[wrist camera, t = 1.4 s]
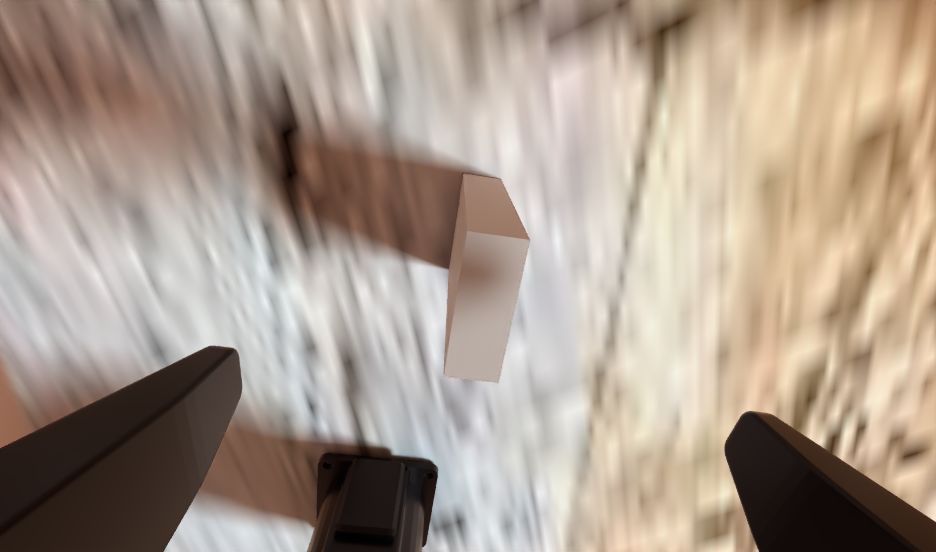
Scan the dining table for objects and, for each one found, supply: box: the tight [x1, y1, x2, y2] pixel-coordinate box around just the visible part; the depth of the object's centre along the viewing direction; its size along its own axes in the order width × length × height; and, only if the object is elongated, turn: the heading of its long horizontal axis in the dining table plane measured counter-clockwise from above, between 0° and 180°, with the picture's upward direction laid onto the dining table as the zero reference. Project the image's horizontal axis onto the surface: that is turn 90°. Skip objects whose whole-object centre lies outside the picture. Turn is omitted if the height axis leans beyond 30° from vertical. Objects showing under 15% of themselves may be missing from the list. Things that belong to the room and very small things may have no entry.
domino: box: [444, 173, 530, 383], centre depth 15 cm, size 4×2×8 cm, turn 171°
